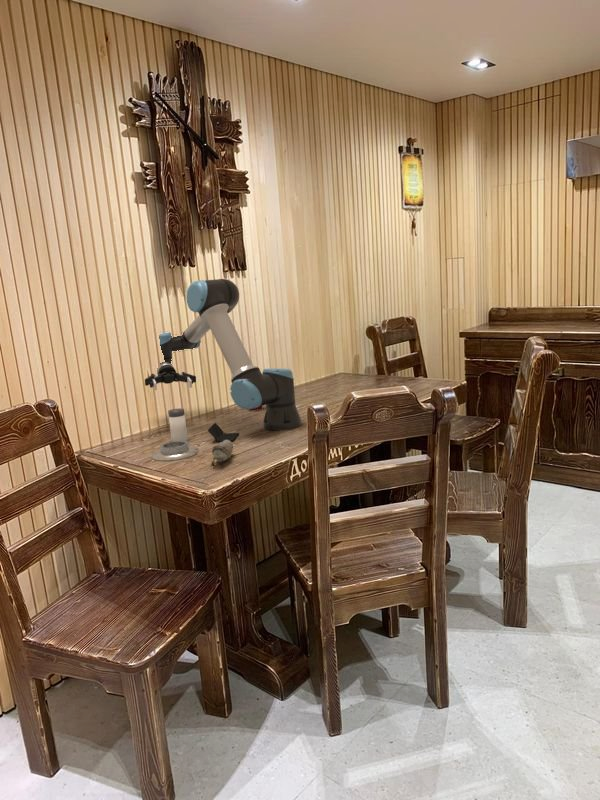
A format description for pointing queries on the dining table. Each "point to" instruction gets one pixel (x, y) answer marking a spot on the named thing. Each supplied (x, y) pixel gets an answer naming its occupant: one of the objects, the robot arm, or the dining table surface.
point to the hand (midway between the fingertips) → (173, 385)
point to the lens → (177, 425)
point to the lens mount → (174, 451)
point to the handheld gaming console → (221, 434)
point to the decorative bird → (222, 452)
